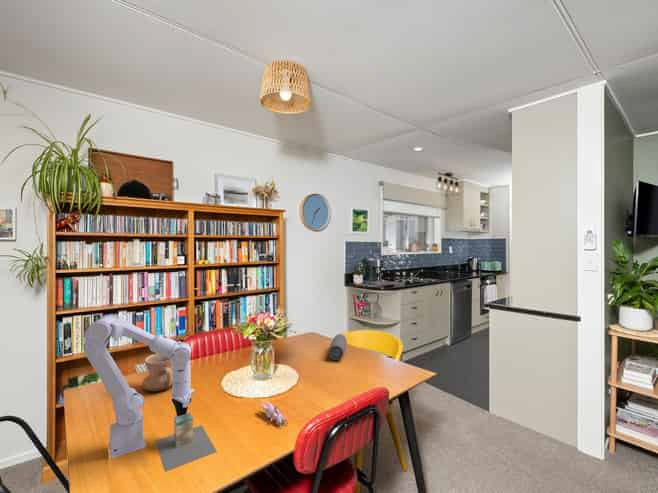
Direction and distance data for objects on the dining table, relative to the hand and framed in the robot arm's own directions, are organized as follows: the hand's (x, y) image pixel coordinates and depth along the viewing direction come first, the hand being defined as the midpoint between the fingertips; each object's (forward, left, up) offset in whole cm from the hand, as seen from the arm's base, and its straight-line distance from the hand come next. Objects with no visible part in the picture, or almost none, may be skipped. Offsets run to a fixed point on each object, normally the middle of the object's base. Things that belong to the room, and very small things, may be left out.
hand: (181, 419), depth 108 cm
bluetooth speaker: (+94, +32, -7) cm, 100 cm away
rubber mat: (0, -6, -6) cm, 9 cm away
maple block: (0, -3, -6) cm, 7 cm away
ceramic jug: (0, +46, -7) cm, 46 cm away
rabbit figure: (+31, -8, -7) cm, 33 cm away
